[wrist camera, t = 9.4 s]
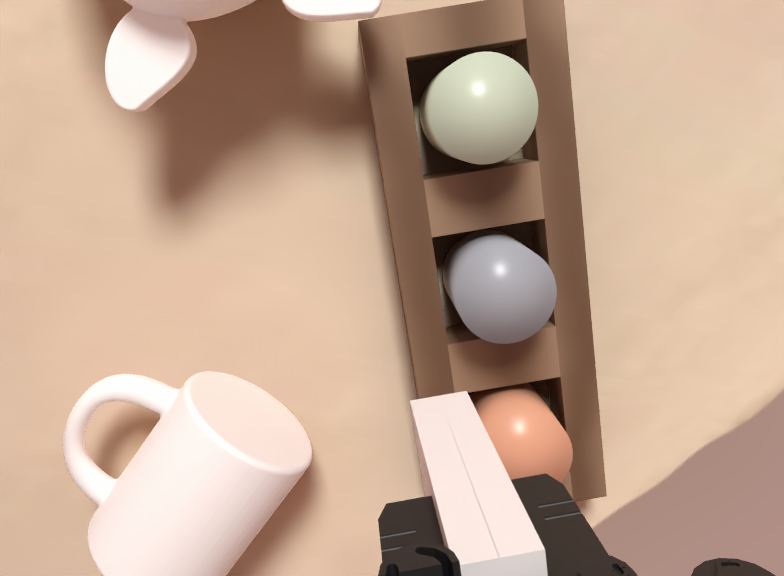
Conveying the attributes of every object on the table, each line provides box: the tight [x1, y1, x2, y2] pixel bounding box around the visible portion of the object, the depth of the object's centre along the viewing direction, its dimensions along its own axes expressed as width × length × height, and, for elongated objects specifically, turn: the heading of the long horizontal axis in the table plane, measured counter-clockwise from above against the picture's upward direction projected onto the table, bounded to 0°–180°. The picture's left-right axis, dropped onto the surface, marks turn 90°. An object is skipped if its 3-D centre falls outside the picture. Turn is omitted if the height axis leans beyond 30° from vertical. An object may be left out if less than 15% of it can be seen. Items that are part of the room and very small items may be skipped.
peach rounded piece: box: [470, 383, 573, 483], centre depth 36 cm, size 5×5×5 cm
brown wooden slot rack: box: [358, 0, 606, 502], centre depth 36 cm, size 10×28×3 cm, turn 9°
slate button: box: [443, 230, 557, 344], centre depth 34 cm, size 5×5×5 cm
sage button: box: [420, 52, 538, 164], centre depth 32 cm, size 5×5×5 cm
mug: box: [63, 371, 313, 576], centre depth 35 cm, size 12×10×8 cm
